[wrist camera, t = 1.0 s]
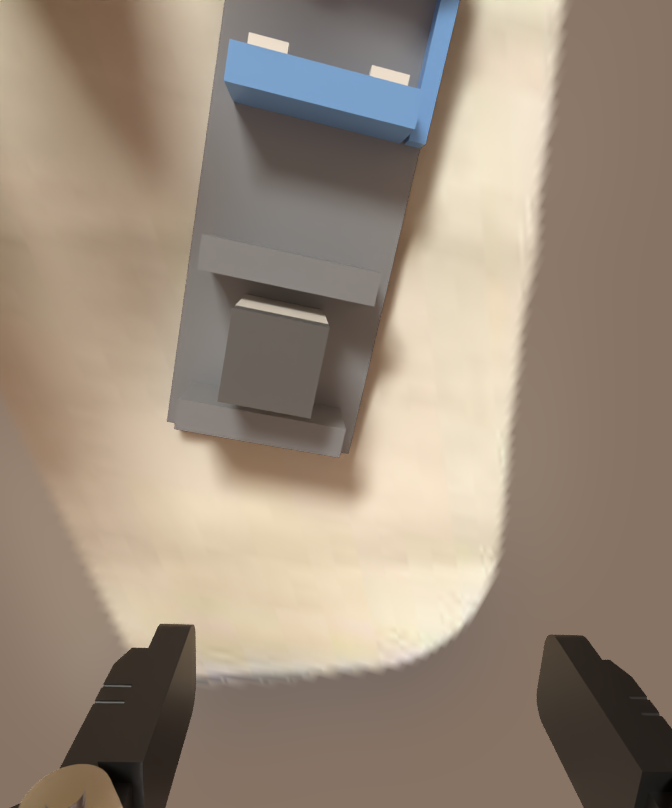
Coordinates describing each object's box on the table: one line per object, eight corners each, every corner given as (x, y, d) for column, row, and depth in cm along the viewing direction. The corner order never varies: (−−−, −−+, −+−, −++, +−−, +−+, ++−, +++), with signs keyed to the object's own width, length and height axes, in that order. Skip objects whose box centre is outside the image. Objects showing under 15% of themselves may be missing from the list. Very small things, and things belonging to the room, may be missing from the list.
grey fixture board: (173, 413, 31) (150, 444, 26) (250, -144, 24) (239, -241, 19) (346, 444, 32) (354, 479, 27) (467, -78, 25) (507, -153, 20)
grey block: (233, 369, 29) (217, 401, 23) (245, 294, 28) (232, 307, 22) (307, 383, 29) (310, 418, 24) (323, 310, 28) (329, 327, 23)
